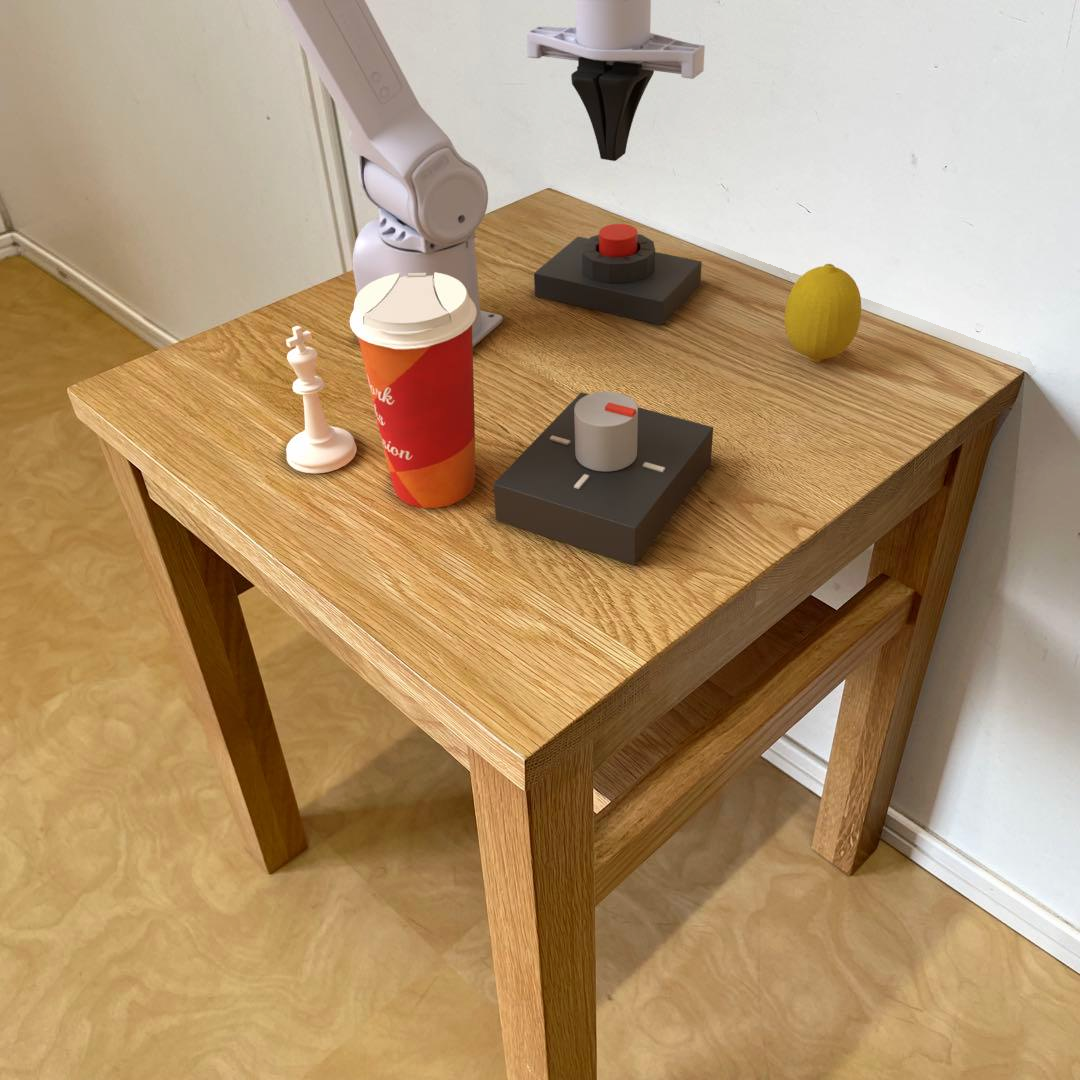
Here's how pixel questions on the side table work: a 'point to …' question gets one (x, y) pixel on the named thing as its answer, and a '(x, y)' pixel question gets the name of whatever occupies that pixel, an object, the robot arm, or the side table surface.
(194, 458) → the side table surface
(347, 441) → the chess piece
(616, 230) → the power button
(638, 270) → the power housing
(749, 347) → the side table surface
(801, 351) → the lemon
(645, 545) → the panel
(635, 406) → the timer dial
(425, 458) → the paper cup
